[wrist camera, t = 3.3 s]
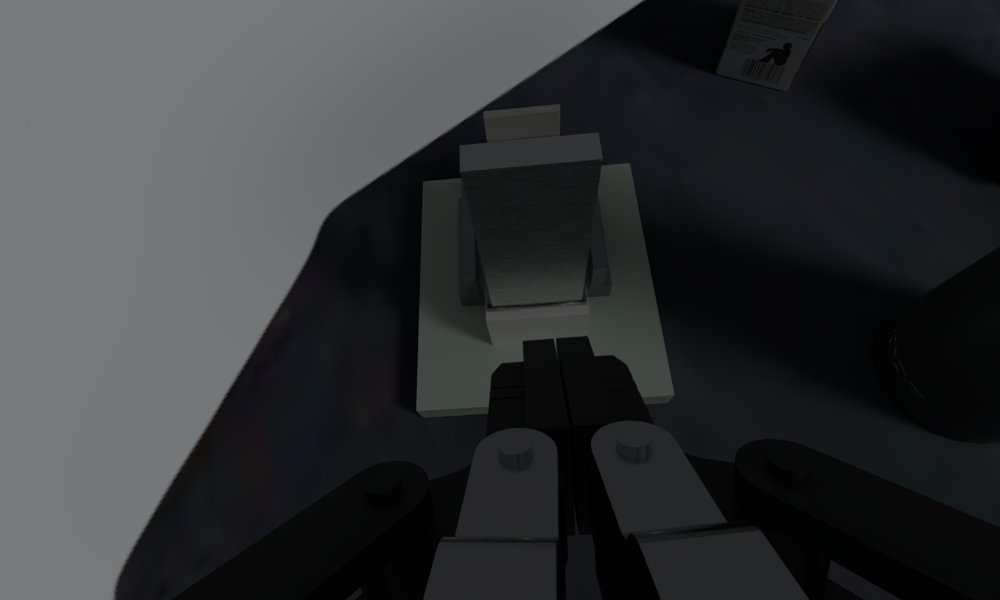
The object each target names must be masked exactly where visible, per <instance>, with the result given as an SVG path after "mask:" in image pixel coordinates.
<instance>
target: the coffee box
mask: <svg viewBox="0 0 1000 600" xmlns="http://www.w3.org/2000/svg"><path fill="white" fill-rule="evenodd" d="M837 1H838V0H741V3H740V5H739V8H738V11H737V14H736V17H735V19H734V22H733V25H732V28H731V31H730V34H729V37H728V39H727V42H726V45H725V48H724V51H723V53H722V56H721V59H720V62H719V65H718V67H717V70H716V74H717V75H721V76H725V77H729V78H733V79H737V80H741V81H745V82H749V83H753V84H757V85H761V86H765V87H769V88H773V89H777V90H781V91H787V90H788V89H789V87H790V85H791V83H792V82H793V80H794V78H795V76H796V74H797V72H798V71H799V69H800V67H801V65H802V63H803V61H804V60H805V58H806V56H807V54H808V52H809V51H810V49H811V47H812V45H813V44H814V42H815V40H816V38H817V36H818V35H819V33H820V31H821V29H822V27H823V26H824V24H825V22H826V20H827V19H828V17H829V15H830V13H831V11H832V10H833V8H834V6H835V4H836V2H837Z"/></svg>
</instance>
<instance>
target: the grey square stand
mask: <svg viewBox="0 0 1000 600" xmlns="http://www.w3.org/2000/svg"><path fill="white" fill-rule="evenodd" d="M483 113H484V124H485V130H486V137H487V143H492V142H503V141H513V140H524V139H535V138H546V137H557V136H560V104H557V105H547V106H536V107H526V108H516V109H505V110H495V111H484V112H483ZM598 197H599V204H600V210H601V217H602V223H603V230H604V236H605V243H606V249H607V256H608V262H609V269H610V276H611V282H612V288H611V292H610V296H599V297H587V304H586V305H578V306H564V307H550V308H537V309H523V310H509V311H495V312H488V309H487V301H486V291H485V305H476V306H462V304H461V301H460V298H459V227H458V198H461V178H457V179H446V180H434V181H423V205H422V238H421V272H420V305H419V339H418V373H417V406H416V411H417V412H418V413H419V414H420V415H421V416H422V417H423V418H425V417H442V416H458V415H475V414H488V408H489V397H490V385H491V375H492V373H493V372H494V371H495V370H496V369H497V368H498V366H499V365H500V364H501V363H509V362H522V361H523V341H526V340H540V339H553V338H554V343H555V349H556V338H565V337H579V336H588V338H589V341H590V344H591V347H592V350H593V353H594V356H604V355H614V356H615V357H617V358H618V359H620V360H621V361H622V362H624V363H625V364H627V366H628V368H629V370H630V372H631V374H632V376H633V380H634V381H635V383H636V385H637V387H638V391H639V392H640V394H641V396H642V398H643V401H644V403H645V404H657V403H668V402H669V400H670V399H671V398H672V397H673V396H674V391H673V386H672V380H671V375H670V370H669V365H668V360H667V355H666V349H665V344H664V339H663V334H662V329H661V323H660V318H659V313H658V308H657V303H656V297H655V292H654V287H653V282H652V277H651V271H650V266H649V261H648V256H647V251H646V246H645V240H644V235H643V230H642V225H641V220H640V214H639V209H638V204H637V199H636V194H635V188H634V183H633V178H632V173H631V168H630V163H626V164H615V165H604V166H602V167H601V174H600V180H599V187H598ZM586 291H587V289H586ZM556 354H557V353H556Z"/></svg>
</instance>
